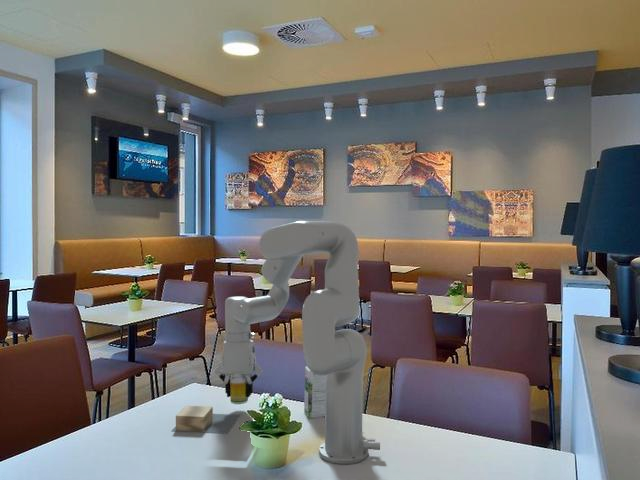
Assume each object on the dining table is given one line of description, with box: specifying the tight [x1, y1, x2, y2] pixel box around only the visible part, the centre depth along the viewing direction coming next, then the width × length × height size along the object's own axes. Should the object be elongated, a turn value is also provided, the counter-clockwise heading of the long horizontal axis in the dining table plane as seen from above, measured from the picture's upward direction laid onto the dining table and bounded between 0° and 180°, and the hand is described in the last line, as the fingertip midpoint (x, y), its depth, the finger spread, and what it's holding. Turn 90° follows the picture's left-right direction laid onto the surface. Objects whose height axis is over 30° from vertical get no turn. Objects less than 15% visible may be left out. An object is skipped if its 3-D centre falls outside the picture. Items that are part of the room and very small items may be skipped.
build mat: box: [171, 413, 241, 435], centre depth 146 cm, size 16×14×1 cm
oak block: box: [175, 405, 214, 431], centre depth 144 cm, size 8×8×4 cm
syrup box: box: [303, 366, 327, 419], centre depth 156 cm, size 6×6×14 cm
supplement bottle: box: [229, 374, 249, 405], centre depth 156 cm, size 5×5×10 cm
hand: (239, 395), depth 156 cm, fingers closed on supplement bottle, 5 cm apart
